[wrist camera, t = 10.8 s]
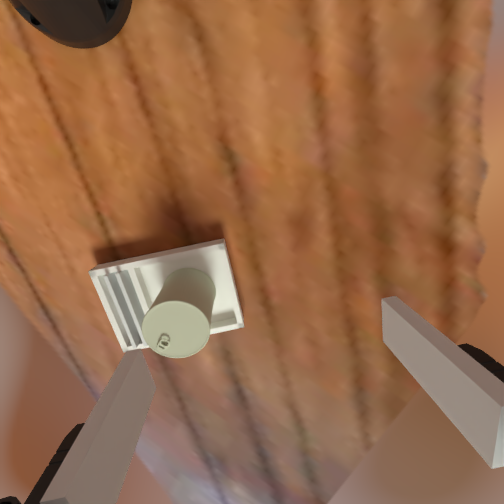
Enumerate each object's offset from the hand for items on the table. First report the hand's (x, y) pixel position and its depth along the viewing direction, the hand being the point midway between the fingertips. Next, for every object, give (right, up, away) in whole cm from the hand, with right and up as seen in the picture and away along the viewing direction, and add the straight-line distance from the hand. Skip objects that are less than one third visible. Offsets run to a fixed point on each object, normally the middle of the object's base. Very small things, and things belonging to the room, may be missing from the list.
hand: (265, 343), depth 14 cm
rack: (-15, -2, +33) cm, 36 cm away
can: (-12, -2, +32) cm, 34 cm away
